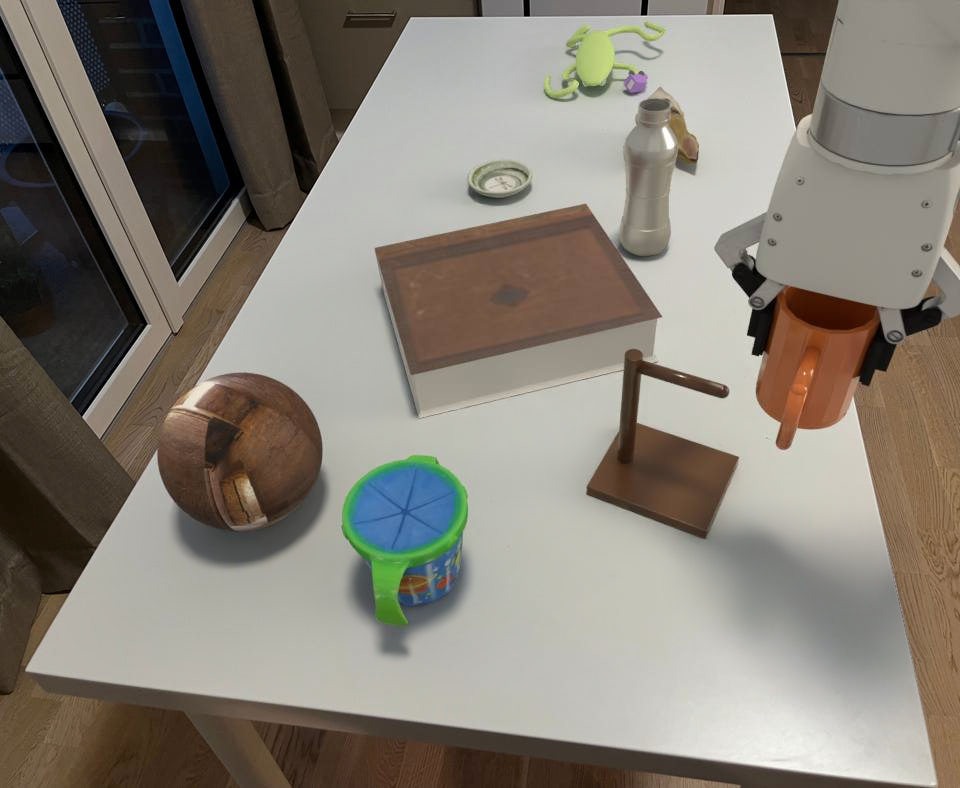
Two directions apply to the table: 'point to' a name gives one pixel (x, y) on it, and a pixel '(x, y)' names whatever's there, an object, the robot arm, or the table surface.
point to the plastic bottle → (648, 179)
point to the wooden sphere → (239, 451)
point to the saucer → (499, 177)
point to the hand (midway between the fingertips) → (813, 356)
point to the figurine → (602, 59)
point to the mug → (813, 359)
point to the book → (512, 308)
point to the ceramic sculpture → (679, 129)
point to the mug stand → (663, 459)
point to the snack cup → (407, 532)
